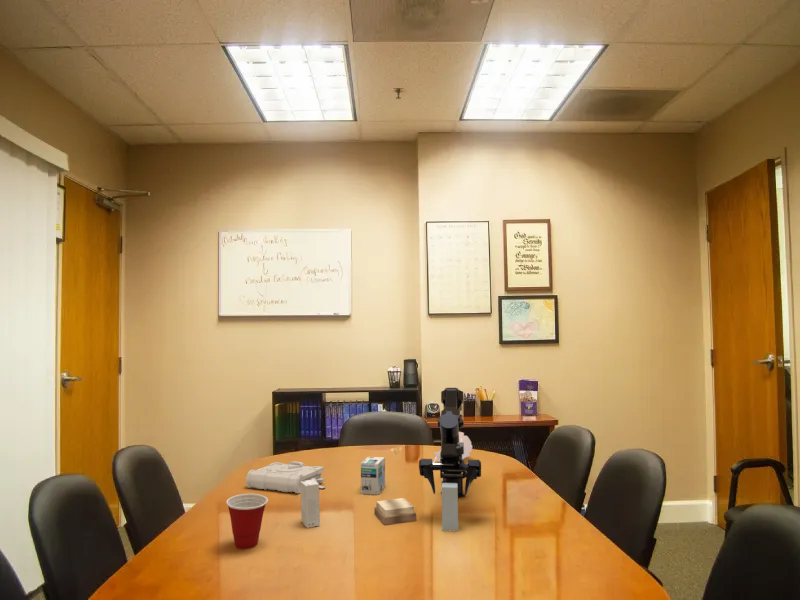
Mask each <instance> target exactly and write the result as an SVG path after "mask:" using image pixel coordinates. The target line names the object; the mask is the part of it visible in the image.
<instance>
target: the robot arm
mask: <svg viewBox="0 0 800 600" xmlns="http://www.w3.org/2000/svg"><path fill="white" fill-rule="evenodd" d="M464 397H465V396H464V391H462V390H461V389H459V387H445V388H444V389H443V390H442V391H441V392H440V402H441V404H442V405H443V406H442V407H443V409H442V410H441V411H440V416H438V421H437V427H438V428H440V429H439V430H440V438H441V439H440V440H441V442H440V444H441V445H440V449H441V452H440V455H439V456H440V457H439V458H440V462H439V463H437V462H435V463H432V462H433V458H420V459H419V461H418V469H419V470H418V471H419V475H420V476H421V477H423V478H424V479H426V480H428V483H429V484H430V487H431V489H432V493H433V495H436V485H435V476H434V471H439V475H440V476H439V477H440V479H442V480H441V484H442V483H458V498H461V497H466V496H467V495H468V492H469V489H470V486H472V483H473V481H474V480H477V479H478V478H480V477H482V461H481V460H480V459H467V463H465V460H463V459H462V454H464V443H463V442H459V432H461V428H463V427H464V425H465V421H464V419H463V416H461V414H460V413H461V412H462V410H463V404H464ZM464 479H465V484H464V483H463V482H464V481H463V480H464ZM464 485H465V486H464ZM440 494H441V495H442V491H441V492H440Z"/></svg>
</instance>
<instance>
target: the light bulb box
mask: <svg viewBox="0 0 800 600" xmlns="http://www.w3.org/2000/svg"><path fill="white" fill-rule="evenodd" d="M384 489H386V458H385V457H383V456H380V457H379V456H367V457H366V458H364V460H363V461H361V462H360V494H361V495H373V496H375V495H376V496H377V495H380V494H381V493H382V491H383V490H384Z"/></svg>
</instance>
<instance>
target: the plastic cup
mask: <svg viewBox="0 0 800 600" xmlns="http://www.w3.org/2000/svg"><path fill="white" fill-rule="evenodd" d="M225 501H226V506H227V507H228V511H229V513H228V514H229V517H230V522H231V525H230V526H231V529H232V530H231V531H232V535H233V542H234V545H235V548H236V549H239V550H246V549H247V550H248V549H251V548H254V547H256V546H257V545H258V542H259V537H260V532H261V528H262V524H263V517H264V513H265V508H266V505H267V503H268V502H269V499H268V497H267V496H264V494H258V493H242V494H241V493H240V494H236V495H233V496H231V497H229V498H228V499H227V500H225Z"/></svg>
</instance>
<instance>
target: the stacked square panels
mask: <svg viewBox="0 0 800 600" xmlns="http://www.w3.org/2000/svg"><path fill="white" fill-rule="evenodd" d="M375 503H376V507H375V506H374V515H375V517H376V518H377V519H378V520H379V521H380V522H381V523H382V524H383V525H384V526H387V525H395V524H401V523H402V524H403V523H408V522H409V523H410V522H416V521H417V513H416V512H415V506H414V505H412V503H410V502H409V501H408V500H407V499H405V497H400V498H392V499H391V498H390V499H385V500H378V501H377V500H376V502H375Z"/></svg>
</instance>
